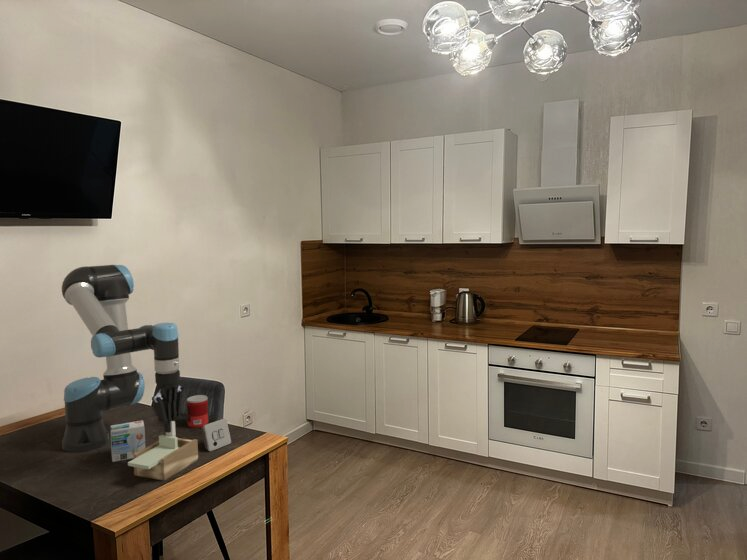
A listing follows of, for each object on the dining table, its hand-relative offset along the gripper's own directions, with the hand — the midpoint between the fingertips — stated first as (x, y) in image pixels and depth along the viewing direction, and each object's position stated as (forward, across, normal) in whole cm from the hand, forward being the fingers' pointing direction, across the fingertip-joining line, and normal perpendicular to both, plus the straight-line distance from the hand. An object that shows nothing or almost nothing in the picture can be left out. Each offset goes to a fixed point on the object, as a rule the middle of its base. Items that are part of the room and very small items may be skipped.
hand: (171, 440), depth 174 cm
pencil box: (+8, -2, 0) cm, 9 cm away
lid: (+3, -8, 0) cm, 8 cm away
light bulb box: (+9, +1, +19) cm, 21 cm away
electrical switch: (+9, +17, -5) cm, 19 cm away
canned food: (+9, +32, +14) cm, 36 cm away
